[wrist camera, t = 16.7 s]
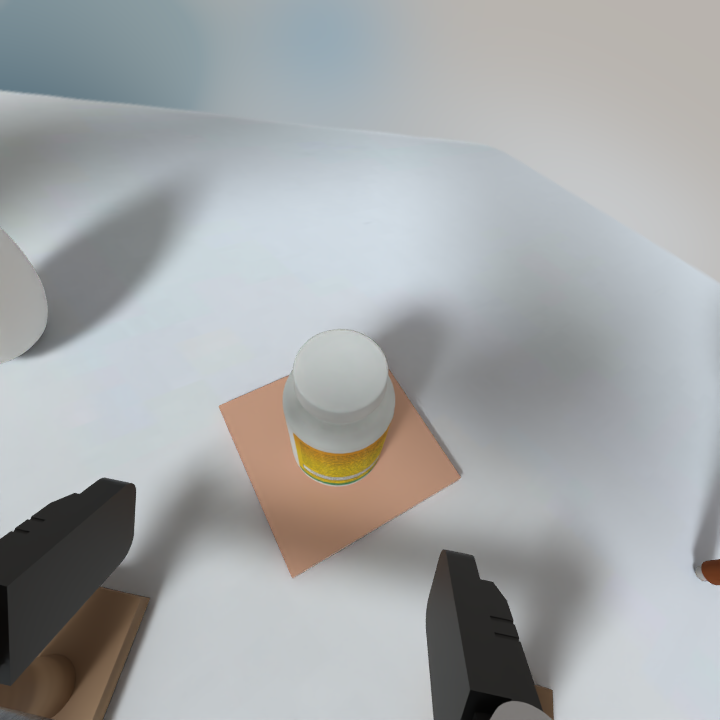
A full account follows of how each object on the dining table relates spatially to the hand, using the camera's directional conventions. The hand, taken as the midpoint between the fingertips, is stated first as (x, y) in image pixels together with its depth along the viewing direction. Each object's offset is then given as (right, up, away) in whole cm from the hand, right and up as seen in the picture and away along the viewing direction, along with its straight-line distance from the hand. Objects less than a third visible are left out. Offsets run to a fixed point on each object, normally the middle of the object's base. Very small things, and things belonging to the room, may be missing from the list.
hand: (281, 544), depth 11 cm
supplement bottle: (+1, -1, +15) cm, 15 cm away
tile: (+1, 0, +16) cm, 16 cm away
